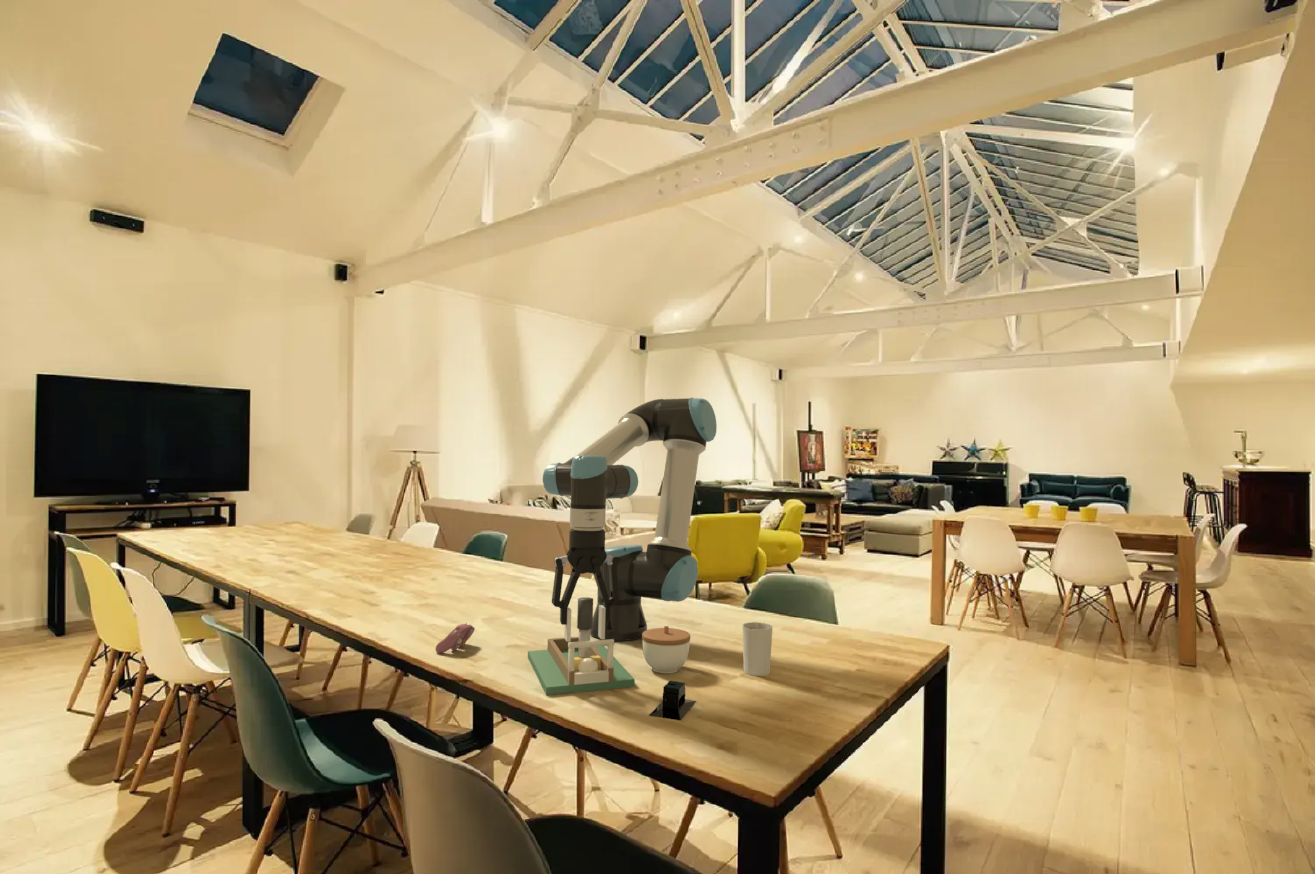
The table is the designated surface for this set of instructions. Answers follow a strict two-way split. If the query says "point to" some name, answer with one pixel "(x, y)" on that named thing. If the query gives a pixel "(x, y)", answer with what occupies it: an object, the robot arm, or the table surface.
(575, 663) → the striker
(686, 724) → the table surface
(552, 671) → the pitch
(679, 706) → the black arch on base
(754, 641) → the drinking glass
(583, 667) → the ball
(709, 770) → the table surface
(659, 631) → the lidded jar
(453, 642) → the pink toy animal
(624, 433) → the robot arm
